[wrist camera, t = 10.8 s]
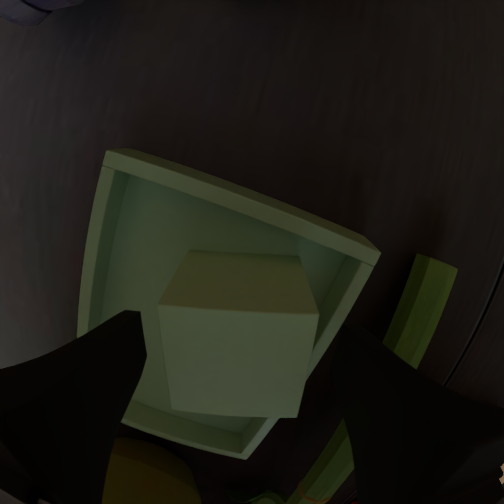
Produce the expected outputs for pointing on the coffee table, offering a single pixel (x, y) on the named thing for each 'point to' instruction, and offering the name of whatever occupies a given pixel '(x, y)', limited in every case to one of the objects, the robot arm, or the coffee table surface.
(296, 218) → the sage tray
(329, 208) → the coffee table surface
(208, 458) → the coffee table surface
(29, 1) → the headphones
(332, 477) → the decorative plant
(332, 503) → the coffee table surface
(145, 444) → the apple
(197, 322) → the sage block
